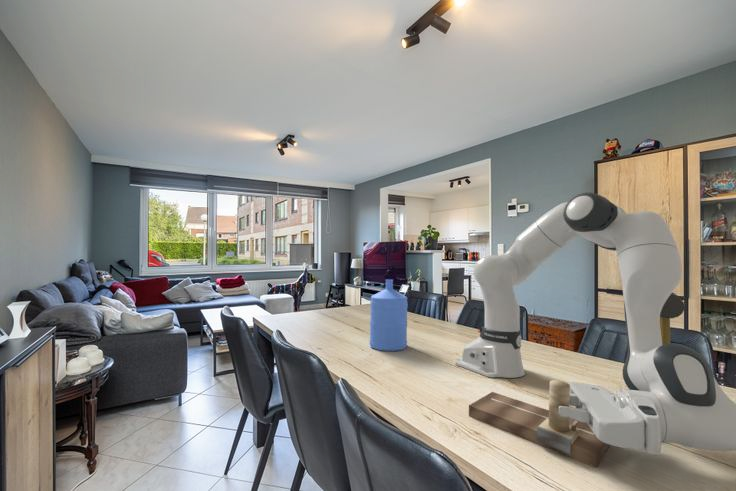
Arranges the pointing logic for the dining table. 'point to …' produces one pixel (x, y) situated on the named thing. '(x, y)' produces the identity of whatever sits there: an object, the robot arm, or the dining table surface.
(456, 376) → the dining table surface
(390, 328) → the water jug
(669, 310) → the rubber mallet
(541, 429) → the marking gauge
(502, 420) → the walnut board
